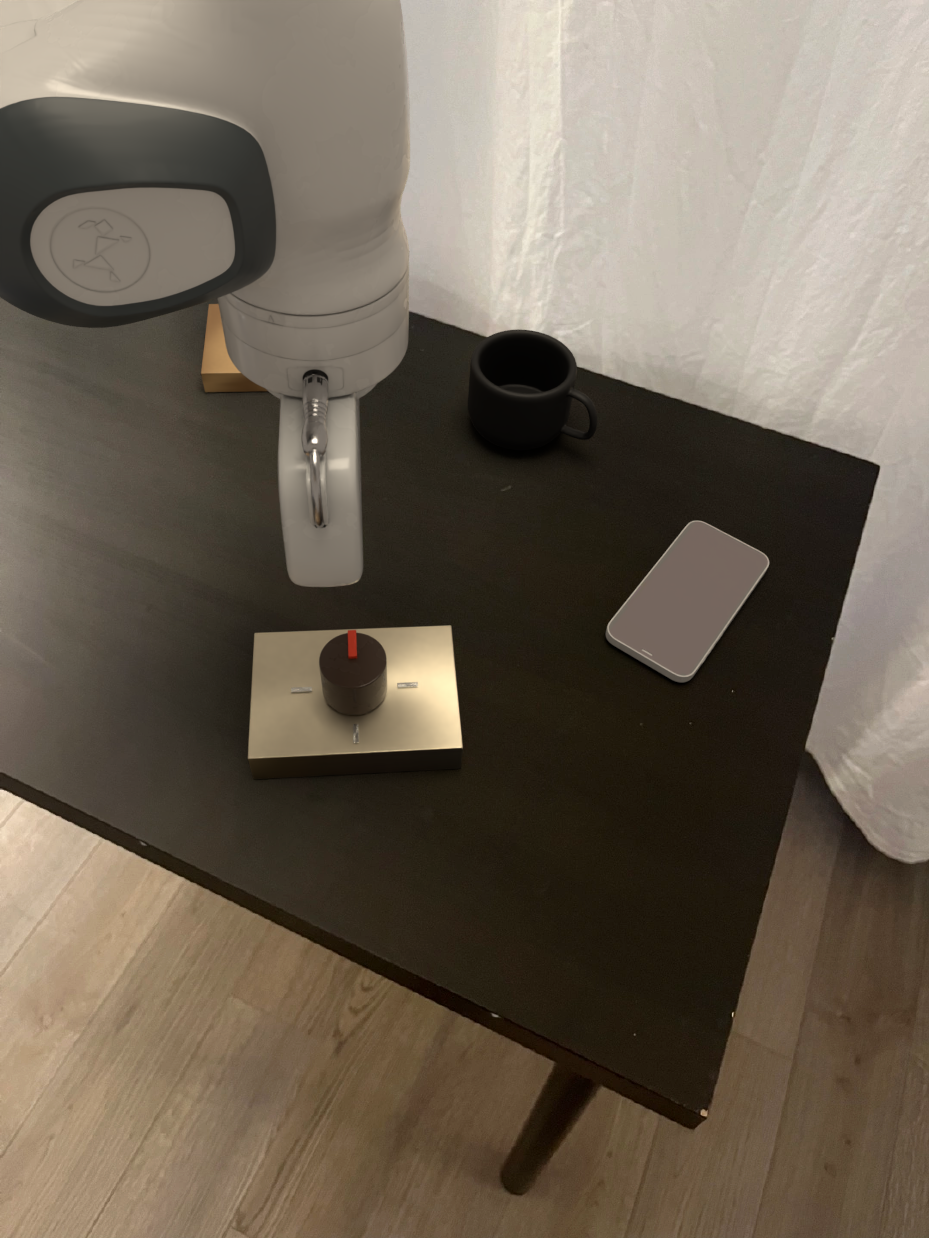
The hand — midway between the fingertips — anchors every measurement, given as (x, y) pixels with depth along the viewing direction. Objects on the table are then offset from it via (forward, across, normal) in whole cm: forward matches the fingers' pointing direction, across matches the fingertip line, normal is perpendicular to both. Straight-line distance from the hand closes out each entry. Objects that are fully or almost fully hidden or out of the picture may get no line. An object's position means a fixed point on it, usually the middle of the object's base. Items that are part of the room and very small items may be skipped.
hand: (332, 508), depth 56 cm
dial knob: (+14, -4, -1) cm, 14 cm away
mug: (+17, +24, -17) cm, 34 cm away
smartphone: (+17, +5, -27) cm, 32 cm away
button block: (+17, +35, +6) cm, 39 cm away
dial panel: (+17, -4, -1) cm, 17 cm away
